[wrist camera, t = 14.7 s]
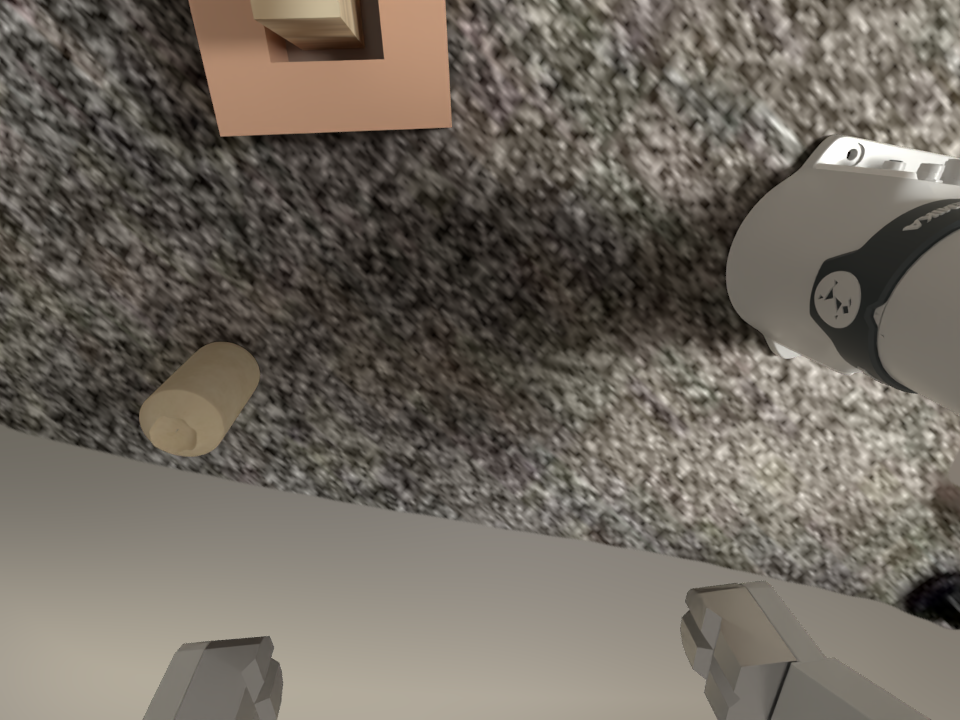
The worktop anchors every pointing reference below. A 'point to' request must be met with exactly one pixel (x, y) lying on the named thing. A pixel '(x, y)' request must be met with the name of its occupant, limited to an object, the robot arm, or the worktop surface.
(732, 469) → the worktop surface
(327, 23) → the peg
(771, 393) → the worktop surface
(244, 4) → the well block
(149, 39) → the worktop surface
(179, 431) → the candle
